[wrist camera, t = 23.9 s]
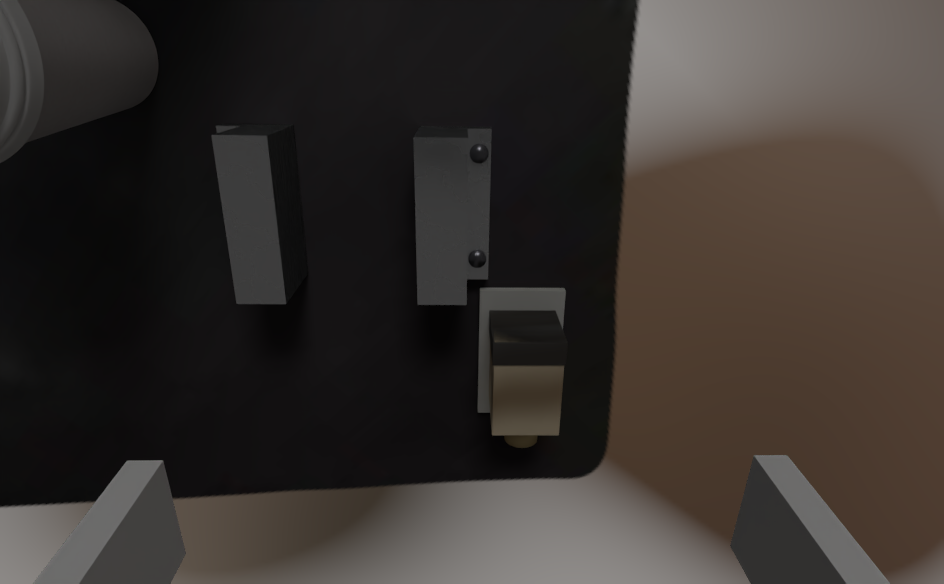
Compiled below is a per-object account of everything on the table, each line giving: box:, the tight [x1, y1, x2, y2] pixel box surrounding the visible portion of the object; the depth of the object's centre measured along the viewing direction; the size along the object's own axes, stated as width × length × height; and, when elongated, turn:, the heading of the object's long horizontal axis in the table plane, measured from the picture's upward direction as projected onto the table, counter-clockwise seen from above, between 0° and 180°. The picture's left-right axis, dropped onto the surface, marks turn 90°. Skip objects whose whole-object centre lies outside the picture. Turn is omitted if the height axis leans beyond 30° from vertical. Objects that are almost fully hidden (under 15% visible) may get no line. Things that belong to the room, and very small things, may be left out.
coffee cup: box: [0, 0, 159, 163], centre depth 28 cm, size 10×10×15 cm
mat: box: [478, 288, 566, 413], centre depth 43 cm, size 10×6×1 cm, turn 179°
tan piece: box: [489, 310, 568, 448], centre depth 41 cm, size 9×5×5 cm, turn 0°
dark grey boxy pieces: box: [211, 124, 491, 305], centre depth 36 cm, size 10×17×6 cm, turn 90°
